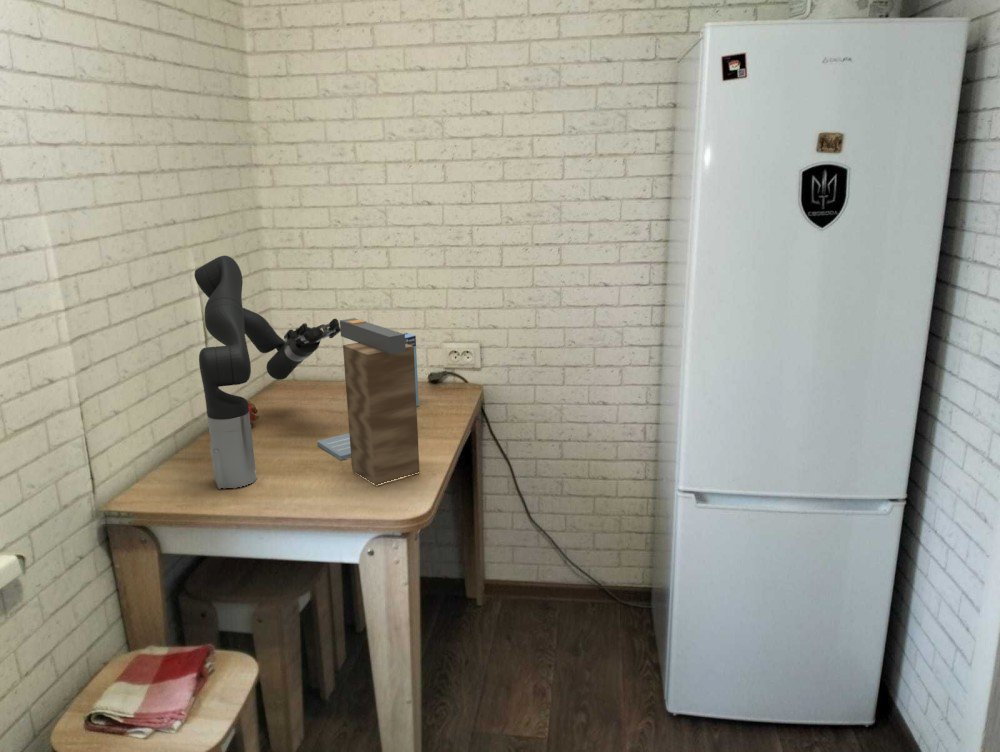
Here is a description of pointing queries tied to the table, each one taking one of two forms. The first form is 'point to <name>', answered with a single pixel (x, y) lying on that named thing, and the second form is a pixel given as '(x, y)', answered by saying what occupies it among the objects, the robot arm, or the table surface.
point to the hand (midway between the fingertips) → (321, 324)
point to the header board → (337, 446)
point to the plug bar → (373, 335)
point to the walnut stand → (381, 412)
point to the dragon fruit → (252, 413)
